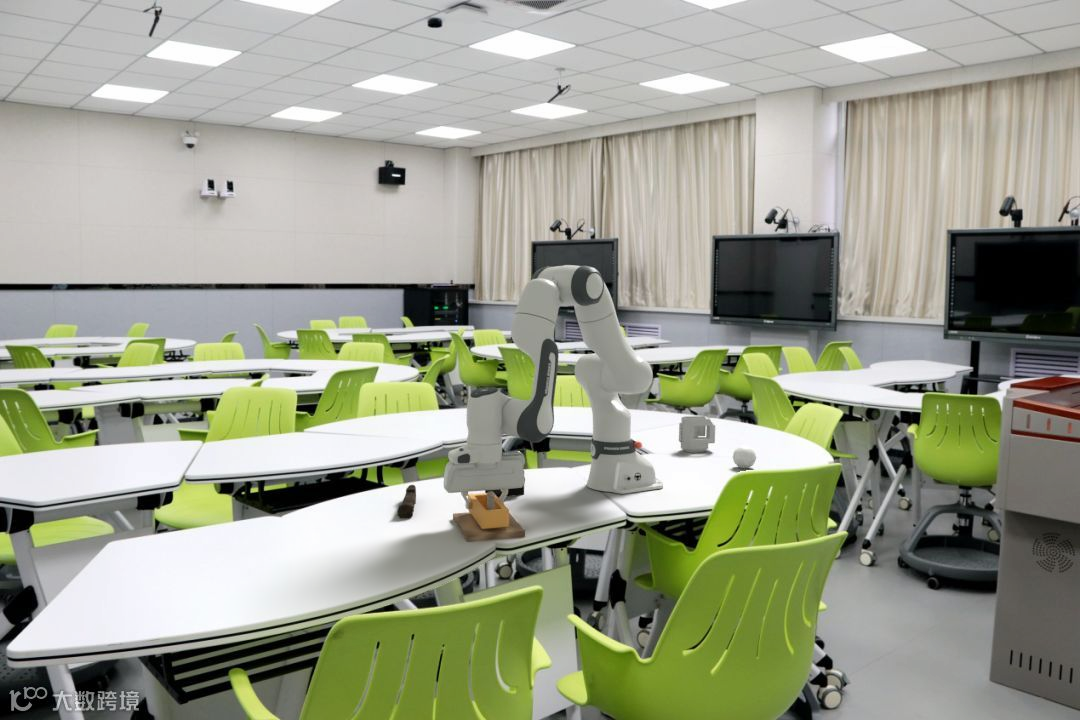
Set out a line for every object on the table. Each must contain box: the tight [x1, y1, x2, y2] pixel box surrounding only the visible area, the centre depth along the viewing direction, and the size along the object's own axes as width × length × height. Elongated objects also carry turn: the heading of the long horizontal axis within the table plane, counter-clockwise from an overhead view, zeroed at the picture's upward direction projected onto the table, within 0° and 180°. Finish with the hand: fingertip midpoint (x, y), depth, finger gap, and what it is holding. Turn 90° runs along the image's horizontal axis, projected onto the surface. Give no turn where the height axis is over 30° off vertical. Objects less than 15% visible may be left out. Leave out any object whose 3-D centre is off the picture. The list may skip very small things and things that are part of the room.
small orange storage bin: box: [467, 492, 510, 529], centre depth 202 cm, size 7×16×4 cm, turn 17°
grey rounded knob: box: [732, 445, 757, 469], centre depth 267 cm, size 10×7×7 cm
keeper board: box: [452, 491, 526, 543], centre depth 201 cm, size 14×18×10 cm
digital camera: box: [484, 476, 526, 498], centre depth 231 cm, size 10×5×7 cm, turn 114°
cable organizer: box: [678, 415, 716, 453], centre depth 291 cm, size 7×12×12 cm, turn 98°
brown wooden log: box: [397, 484, 417, 519], centre depth 218 cm, size 19×4×5 cm, turn 1°
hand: (484, 507), depth 205 cm, fingers closed on small orange storage bin, 6 cm apart
